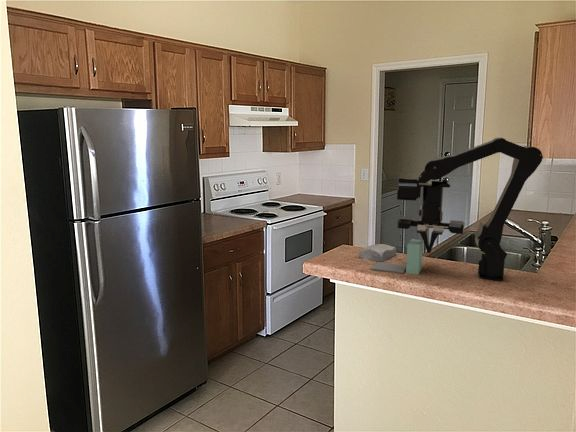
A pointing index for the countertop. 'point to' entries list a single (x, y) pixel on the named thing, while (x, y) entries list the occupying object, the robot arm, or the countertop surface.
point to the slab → (414, 256)
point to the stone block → (377, 252)
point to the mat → (389, 267)
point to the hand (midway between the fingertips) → (428, 252)
